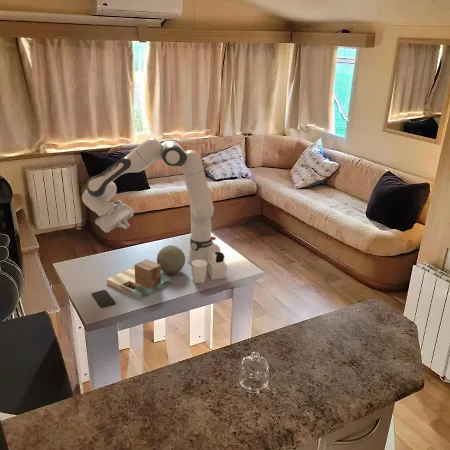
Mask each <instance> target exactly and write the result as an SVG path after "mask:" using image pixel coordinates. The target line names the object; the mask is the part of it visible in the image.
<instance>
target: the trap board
mask: <svg viewBox="0 0 450 450" xmlns="http://www.w3.org/2000/svg"><path fill="white" fill-rule="evenodd" d="M172 280H173V278H172V277H170V276H168V275H165V274H163V273H161V283H160V284H158V285H156V286H154V287H152V288H150V289H149V288H146V287H144V286H142V285H140V284H138V283H135V265H134V266H132V267H130V268H128V269H126V270H123V271H122V272H118V273H117V274H114V275H112V276H110V277H108V278H106V284H108V285H109V286H112V287H114V288H115V289H118V290H120V291H121V292H124V293H127V294H128V295H131V296H133V297H135V298H137V299H138V300H142V299H144V298H145V297H147V296H149V295H152V293H153V294H154V293H155V292H156V291H158V290H160V289H162V288H164V287H166V286H167V285H171V283H173V281H172Z"/></svg>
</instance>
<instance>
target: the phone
mask: <svg viewBox="0 0 450 450" xmlns="http://www.w3.org/2000/svg"><path fill="white" fill-rule="evenodd" d="M91 296H92V297H93V299H94V300H95V302H96V303H97V305H98V306H99V307H100V308H102V309H105V308H107V307H112V306H115V305H116V303H117V302H116V301H115V300H114V298H113V297H112V296H111V295H110V294H109V292H108V290H107V289H103V290H98V291H94V292H92V293H91Z"/></svg>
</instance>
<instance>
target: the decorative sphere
mask: <svg viewBox="0 0 450 450" xmlns="http://www.w3.org/2000/svg"><path fill="white" fill-rule="evenodd" d="M156 263H157V264H160V265H161V272H163V273H165V274H169V275H174V274H176V273H178V272H181V270H182V269H183V268H184V266H185V263H186V256H185V253H184V251H183V250H182V249H181V248H180V247H178V246H177V245H167V246H164V247H162V248H161V249H160V250H159V252H158V253H157V256H156Z"/></svg>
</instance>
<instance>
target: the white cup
mask: <svg viewBox="0 0 450 450" xmlns="http://www.w3.org/2000/svg"><path fill="white" fill-rule="evenodd" d="M207 272H208V266H207V262H206V261H204V260H194V261H193V262H192V264H191V276H192V282H193V283H195V284H203V283H205V282H206V279H207V277H206V276H207Z"/></svg>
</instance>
